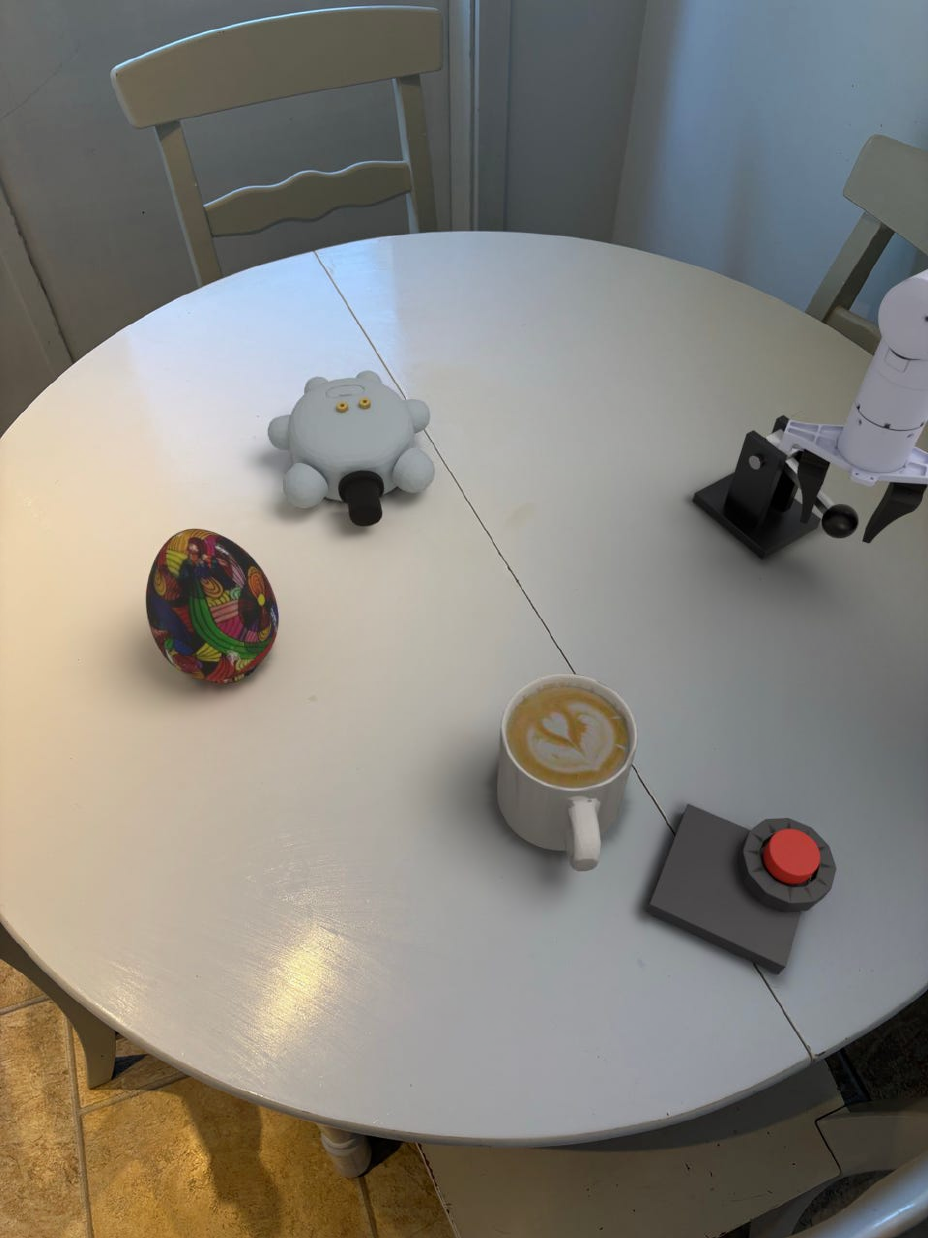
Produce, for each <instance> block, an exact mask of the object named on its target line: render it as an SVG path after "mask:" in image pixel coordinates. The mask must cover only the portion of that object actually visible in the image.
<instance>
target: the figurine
mask: <svg viewBox="0 0 928 1238" xmlns="http://www.w3.org/2000/svg"><path fill="white" fill-rule="evenodd" d="M303 393H304V394H303V395H302V396H301V397H300V398H299V399H298V401H296V403H295V405H294V407H293V408H292V410H291V413H290V414H285V415H280V416H277V417H274V418H272V419H271V421H270V422H269V423H268V427H267V437H268V440H269V442H270V444H271V445H272V446H273V447H275V448H276V449H279V450H281V451H289V452H290V454H291V458H292V462H293V464H292V466H291V467H290V468H289V470H287V471H286V473H285V475H284V476H283V479H282V491H283V495H284V497H285V499H286V500H287V501H288V503H290V504H291V505H293V506H294V507H297V508H300V509H309V508H313V507H315V506H317V505H319V504H320V503H321V502H322V501H323V499H324V498H327V499H330V500H333V501H340V502H344V503H345V504H346V505H347V510H348V517H349V521H350V522H351V523H352V524H353V525H355V526H357V527H362V528H364V527H366V528H367V527H371V526H374V525H376V524H378V523H379V522H380V521H381V520H382V518H383V508H382V503H381V502H382V501H381V498H382V496H384V495H386V494H387V493H390V492H391V491H393V490H394V489H395V488H397V487H398V488H399V489H401V490H402V491H404V492H407V493H411V494H413V493H414V494H415V493H421V492H423V491H425V490H427V489H428V488H429V487H430V486H431V484H432V483H433V481H434V479H435V476H436V475H435V474H436V468H435V464H434V461H433V460H432V458H431V457H430V456H429V455H428V454H427V453H426V452H424V451H423V450H421V448H420V449H419V448H418V447H415V434H418V433H420V432H422V431H424V430H425V429H426V428H427V427H428V426H429V424H430V421H431V411H430V407H429V406H428V405H427V403H426V402H424V401H423V400H421V399H417V398H416V399H415V398H410V399H409V398H408V399H403V397H401V395H400V394H399V393H398V392H397V391H395V390H394V389H393V388H391V387H389V386H388V385H386V384H384V383H383V381H382V379H381V377H380V376H379V374H378V373H376V372H375V371H373V370H369V369H367V370H364V371H363V370H362V371H361V372H359V373H357V375H356V376H355V377H345V378H339V379H334V380H328V379H326V377H322V376H313V377H311V378H310V379H308V380H307V381H306V383H305V386H304V388H303Z"/></svg>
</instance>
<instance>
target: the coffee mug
mask: <svg viewBox="0 0 928 1238" xmlns="http://www.w3.org/2000/svg"><path fill="white" fill-rule="evenodd" d="M499 730H500V732H499V746H498V747H499V748H498V762H497V763H498V765H497V785H496V799H497V802H498V807H499V810H500V813H501V815H502V817H503V818H504V819H505V822H506V824H507V825H508V826H509V827H510V829H512V830H513V832H515V834H517V836H519V837H520V838H521V839H523V840H525V841H526V842H528V843H530V844H531V845H534V846H536V847H539V848H541V849H546V850H550V851H559V852H561V851H565V852H566V856H567V860H568V863H569V865H570V867H571V868H572V869H573V871H576V872H589V871H592V870H594V869H596V867H597V866H598V864H599V863H600V855H601V848H602V847H601V846H602V843H601V838H602V837H603V836H605V835H606V834H607V832H608V831H609V830H610V829H611V827H612V826H613V824H614V823H615V821H616V818H617V816H618V813H619V809H620V806H621V802H622V800H623V796H624V792H625V790H626V786H627V783H628V779H629V776H630V773H631V769H632V767H633V762H634V760H635V755H636V752H637V749H638V739H639V737H638V735H639V734H638V727H637V722H636V720H635V717H634V714H633V712H632V710H631V708H630V707H629V705H628V703H626V701H625V700H624V699H623V697H621V696H620V695H619V694H618V693H617V692H616V691H615V690H614V689H613V688H611V687H610V686H608V685H607V684H605V683H603V682H601V681H599V680H597V679H595V678H592V677H589V676H585V675H581V674H578V673H577V674H576V673H554V674H548V675H544V676H540V677H538V678H535V679H533V680H531V681H530V682H527V683H526V684H524V685H523V686H522V687H521V688H519V689H518V690H517V691H516V692H514V694H513V695H512V696H511V698H510V699H509V700H508V702H507V704H506V706H505V708H504V710H503V713H502V716H501V721H500V729H499Z"/></svg>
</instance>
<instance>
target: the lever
mask: <svg viewBox="0 0 928 1238" xmlns="http://www.w3.org/2000/svg"><path fill="white" fill-rule="evenodd" d="M771 433H772V432H771ZM771 433H770V434H768V435H766V436H764V438H765V439H766V440H768V441H769V442H770V443H772V444H773V445H774V446H776V447H777V448H779V445H780V442H781V440H782V437H783V434H784V432H783V430H782V429H780V430H778V431H776V432H774V433H772V434H771ZM781 451H782V452H784V453H785V454H786V455H788V456H787V459H786V462H785V465H784V467H783V470H784V472H785V473H786V474H787V475H788V476H789V477H790V478H791V479H792V481H793V482H794V483H795V484H796V485H797V486H798V487H799V488H798V489H799V490H800V491H801V487H800V483H799V480H798V478H797V468H798V465H799V463H798V462H797V461H796V460H795V458H794V457H795V456H796V454H797V453H798V452H799V450H796V449H793V448H792V450H791V451H790V452H786V451H783V450H781ZM814 507H816V509H817V510H818V511H819V512H820V513H821V514H822V516H821V521H820V523H821V528H822V530H823V532H824V534H826V535H827V536H829V537H831V538H832V539H838V540H839V539H845V538H848V537H850V536H851V535H853V534H854V533H856V530H857V529H858V527H859V522H860V519H859V514H858V513H857V511H856V510H855V509H854V507H853V506H851V505H848V504H844V503H836V502H834V500H833V499H832V498H831V497H830V496H829V494H827V493H826V491H824V489H823V488H822V487H821V489H820V491H819V493H818V495H817V497H816V501H815V504H814Z"/></svg>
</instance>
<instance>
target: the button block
mask: <svg viewBox="0 0 928 1238" xmlns="http://www.w3.org/2000/svg"><path fill="white" fill-rule="evenodd" d="M783 829H795V830H799V831H801V832H803V833H805V834H807V835H808V836H809V837H810V838H812V840H813V841H814V842H815V843H816V845H817V847H818V849H819V852H820V863H819V866H818V867H817V869H816V870H815V871H814V873H813V874H812V875H811V877H810V878H809V879H808V880H807V881H805V882H803V883H801V884H796V885H792V884H786V883H783V882H781V881H779V880H777V879H776V878H775V877H773V876H772V875H771V874H770V872H769V871H768V870H767V868H766V866H765V863H764V859H763V853H764V850H765V847H766V846H767V844H768V842H769V841H770V839H771V838H772V836H773V835H774V834H775V833H776V832H778V831H780V830H783ZM836 872H837V865H836V863H835V859H834V857H833V854H832V851H831V848H830V846H829V844H828V843H827V842H826V841H825V840H824V839H823V838H822V836H820V835H819V834H818V833H817V831H815V829H814V828H813V827H811V826H810V825H809V826H808V825H807V824H804V823H801V822H799V821H797V820H794V819H792V818H789V817H781V818H780V817H779V818H766V819H764V820H762V821H761V822H759V823H758V824H757V825H755V826H754V827H753V828H751V829H749V828H747V827H744V826H743V825H740V824H737V823H735V822H732V821H731V820H728V819H725V818H724V817H721V816H718V815H716V814H714V813H711V812H709V811H707V810H704V809H701V808H699V807H698V806H695V805H692V804H690V803H687V804H686V807H685V809H684V811H683V814H682V816H681V819H680V822H679V824H678V827H677V830H676V831H675V835H674V837H673V840H672V843H671V844H670V848H669V851H668V853H667V855H666V857H665V861H664V864H663V865H662V869H661V871H660V874H659V877H658V879H657V882H656V884H655V887H654V890H653V892H652V895H651V898H650V901H649V903H648V905H647V908H646V911H645V912H646V913H647V914H649V915H651V916H654V917H656V918H657V919H660V920H662V921H664V922H666V923H668V924H671V925H672V926H675V927H677V928H680V929H681V930H683V931H685V932H687V933H689V934H692V935H694V936H696V937H698V938H700V939H702V940H705V941H707V942H709V943H711V944H713V945H714V946H717V947H718V948H719V947H720V948H722V949H724V950H726V951H728V952H730V953H733V954H734V955H737V956H739V957H741V958H743V959H745V960H747V961H750V962H752V963H753V964H756V965H758V966H759V967H760V966H761V967H763V968H765V969H766V970H768V971H771V972H773V973H775V974H777V975H780V974H781V973H782V972H783V970H784V969H785V968H786V967H787V964H788V959H789V957H790V952H791V948H792V945H793V942H794V938H795V935H796V932H797V927H798V924H799V919H800V915H801V912H807V911H809V910H811V908H813V907H814V906H816V905H817V904H818V903H819V902H821V901H822V900H823V899H825V897H826V896H827V895H828V894H829V893H830V892H831V890H832V888H833V884H834V881H835V877H836Z"/></svg>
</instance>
